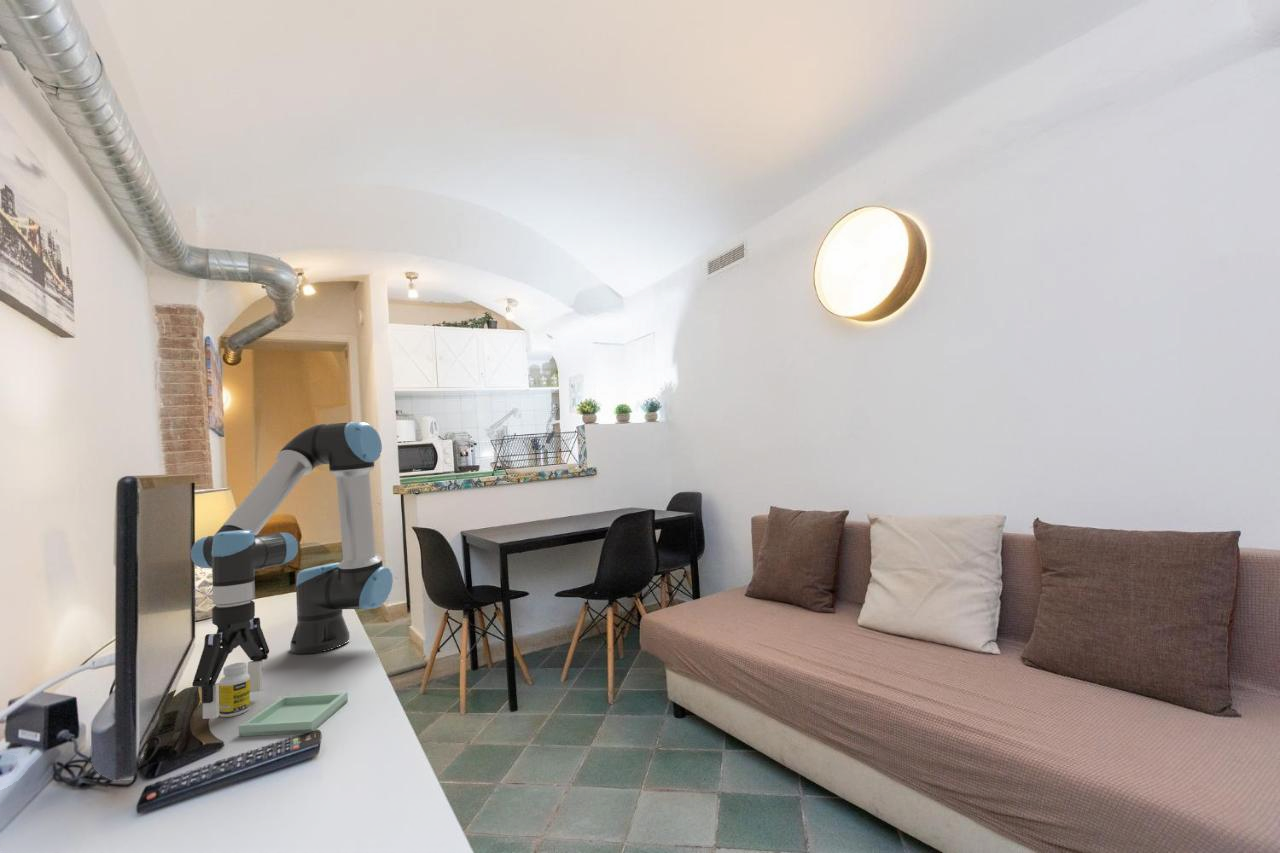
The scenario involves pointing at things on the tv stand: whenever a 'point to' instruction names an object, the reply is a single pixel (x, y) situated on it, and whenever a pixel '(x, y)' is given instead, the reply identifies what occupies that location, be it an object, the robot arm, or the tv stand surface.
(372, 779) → the tv stand surface
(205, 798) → the tv stand surface
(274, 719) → the tray
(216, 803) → the tv stand surface
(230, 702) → the supplement bottle
